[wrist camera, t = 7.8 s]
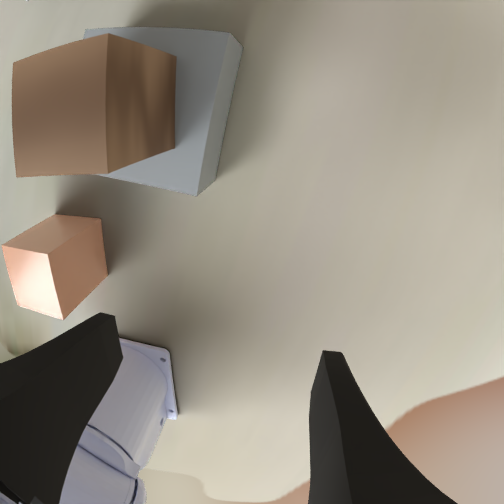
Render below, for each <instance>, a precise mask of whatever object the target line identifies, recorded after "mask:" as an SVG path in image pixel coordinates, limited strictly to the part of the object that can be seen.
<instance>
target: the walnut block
mask: <svg viewBox="0 0 504 504" xmlns="http://www.w3.org/2000/svg"><path fill="white" fill-rule="evenodd" d="M176 60H177V56H174V55H171V54H169V53H166V52H163V51H161V50H158V49H155V48H152V47H150V46H147V45H144V44H141V43H138V42H135V41H132V40H129V39H126V38H123V37H120V36H116V35H113V34H110V33H106V34H102V35H98V36H94V37H90V38H86V39H83V40H79V41H75V42H72V43H68V44H65V45H62V46H59V47H56V48H53V49H49V50H47V51H44V52H41V53H38V54H35V55H32V56H30V57H27V58H24V59H22V60H19V61H17V62H14V63H13V75H12V128H13V145H14V158H15V168H16V177H32V176H51V175H76V174H109V173H111V172H114V171H116V170H118V169H121V168H123V167H126V166H129V165H131V164H134V163H136V162H139V161H142V160H144V159H147V158H150V157H152V156H155V155H158V154H161V153H163V152H166V151H169V150H172V149H175V89H176Z"/></svg>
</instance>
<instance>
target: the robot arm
mask: <svg viewBox="0 0 504 504" xmlns="http://www.w3.org/2000/svg"><path fill="white" fill-rule="evenodd" d="M163 358H164V359H163ZM177 417H178V412H177V406H176V399H175V392H174V385H173V378H172V370H171V362H170V354H169V352H168V350H166V349H164V348H160V347H155V346H151V345H147V344H142V343H138V342H134V341H130V340H126V339H122V338H119V335H118V331H117V326H116V321H115V316H113V315H109V314H105V313H98V314H96V315H94V316H93V317H91V318H89V319H87V320H85V321H84V322H82V323H80V324H78V325H77V326H75V327H73V328H72V329H70V330H68V331H66V332H65V333H63V334H61V335H59V336H58V337H56V338H54V339H52V340H50V341H48V342H47V343H45V344H43V345H41V346H39V347H37V348H35V349H33V350H31V351H29V352H27V353H25V354H23V355H21V356H18V357H16V358H14V359H11V360H8V361H6V362H3V363H0V504H146V498H147V494H146V489H145V485H144V482H143V480H142V479H140V478H138V477H137V476H138V473H139V471H140V470H142V469H143V468H144V467H145V466H146V465H147V463H148V462H149V460H150V458H151V455H152V453H153V450H154V448H155V445H156V443H157V441H158V438H159V436H160V433H161V431H162V429H163V426H164V424H165V421H166V419H167V418H169V419H174V420H175V419H177ZM309 434H310V469H311V476H310V491H309V500H308V504H457V503H456V502H455V501H453V500H452V499H450V498H449V497H448V496H446V495H445V494H444V493H442V492H441V491H440V490H439V489H438V488H437V487H435V486H434V485H433V484H432V483H431V482H430V481H429V480H427V479H426V478H425V477H424V476H423V475H422V474H421V472H420V471H419V470H418V469H417V468H416V467H415V466H414V465H413V464H412V463H411V462H410V461H409V460H408V459H407V458H406V457H405V455H404V454H403V453H402V452H401V451H400V449H399V448H398V447H397V446H396V444H395V443H394V442H393V441H392V439H391V438H390V437H389V435H388V434H387V432H386V431H385V430H384V428H383V427H382V425H381V424H380V422H379V421H378V419H377V417H376V416H375V414H374V413H373V411H372V409H371V408H370V406H369V404H368V403H367V401H366V399H365V397H364V396H363V394H362V392H361V390H360V388H359V386H358V385H357V383H356V381H355V379H354V377H353V375H352V373H351V370H350V368H349V366H348V364H347V362H346V360H345V357H344V355H343V354H342V353H341V352H335V351H324V350H323V351H322V355H321V359H320V362H319V366H318V369H317V373H316V376H315V380H314V383H313V387H312V390H311V398H310V411H309Z"/></svg>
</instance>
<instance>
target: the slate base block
mask: <svg viewBox="0 0 504 504" xmlns="http://www.w3.org/2000/svg"><path fill="white" fill-rule="evenodd" d="M106 33H110V34H113V35H116V36H120V37H123V38H126V39H129V40H132V41H135V42H138V43H141V44H144V45H147V46H150V47H152V48H155V49H158V50H161V51H163V52H166V53H169V54H171V55H174V56H177V60H176V89H175V149H172V150H169V151H166V152H163V153H161V154H158V155H155V156H152V157H150V158H147V159H144V160H142V161H139V162H136V163H134V164H131V165H129V166H126V167H123V168H121V169H118V170H116V171H114V172H111V173H109V174H94V175H99V176H104V177H109V178H114V179H119V180H124V181H129V182H134V183H138V184H143V185H148V186H152V187H157V188H162V189H166V190H171V191H175V192H180V193H184V194H188V195H193V196H198V195H199V194H200V193H201V192H202V191H203V190H205V189H206V188H207V187H208V186H209V185H210V184H212V183H213V182H214V181H215V179H216V173H217V168H218V163H219V158H220V153H221V147H222V142H223V137H224V133H225V128H226V123H227V118H228V113H229V109H230V104H231V99H232V95H233V90H234V86H235V81H236V77H237V72H238V68H239V64H240V59H241V55H242V51H243V46H242V45H241V44H240V43H239V42H238V41H237V40H236V39H235V38H234V37H233V36H232V34H231V33H229V32H220V31H211V30H200V29H187V28H167V27H117V28H98V29H86V30H85V34H84V38H83V39H86V38H90V37H94V36H98V35H102V34H106Z"/></svg>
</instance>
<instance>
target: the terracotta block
mask: <svg viewBox="0 0 504 504" xmlns="http://www.w3.org/2000/svg"><path fill="white" fill-rule="evenodd" d="M2 249H3V253H4V258H5V262H6V266H7V269H8V273H9V277H10V281H11V284H12V288H13V291H14V294H15V298H16V301H17V304H18V305H19V306H22V307H24V308H27V309H30V310H33V311H36V312H39V313H42V314H46V315H49V316H52V317H55V318H58V319H61V320H64V319H65V318H66V317H67V316H68V315H69V314H70V313H71V312H72V311H73V310H74V309H75V308H76V307H77V306H78V305H79V304H80V303H81V302H82V301H83V300H84V299H85V298H86V297H87V296H88V295H89V294H90V293H91V292H92V291H93V290H94V289H95V288H96V287H97V286H98V285H99V284H100V283H101V282H102V281H103V280H104V279H105V278H106V277H107V276H108V273H107V266H106V259H105V251H104V243H103V234H102V225H101V219H100V218H89V217H79V216H68V215H57V214H55V215H53V216H51V217H49V218H47V219H46V220H44V221H42V222H40V223H38V224H37V225H35V226H33V227H31V228H30V229H28V230H26V231H25V232H23V233H21V234H19V235H18V236H16V237H14V238H13V239H11V240H9V241H8V242H6V243H5V244H3V245H2Z"/></svg>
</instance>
